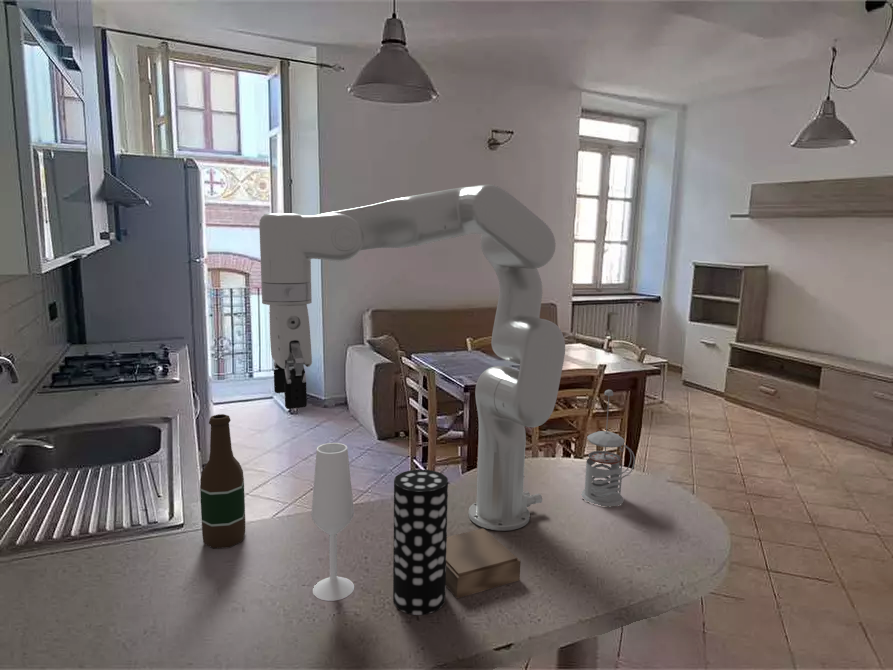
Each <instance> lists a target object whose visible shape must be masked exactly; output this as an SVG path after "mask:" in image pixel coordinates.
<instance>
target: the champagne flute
mask: <svg viewBox="0 0 893 670" xmlns="http://www.w3.org/2000/svg"><path fill="white" fill-rule="evenodd" d="M311 501H312V503H311V514H310V515H311V520H312V521H313V523H314V524H315V525H316V527H317V528H318V529H320V530H321V531H322V532H324V533H325V534H327V535H329V537H328V538H329V539H328V540H329V541H328V543H329V544H328V546H329V550H328V551H329V576H328V577H326V578H323V579H321V580H319V581H318V582H316V583H317V584H316V583H315V584H316V585H315V584H314V586H313V587H314V588H313V587H312V594H313V596H315V597H316V598H317V599H319V600H322V601H326V602H327V601H329V602H333V601H340V600H343V599H345V598H347V597H349V596H350V595H352V593H353V592H354V590H355V585H354V583H353V582H352V580H351V579H349V578H346V577H343V576H338V541H337V540H338V537H337V536H338V535H337V534H339V533H341V532H342V531H343V530H344V529H345V528H346V527H348V525H349V524H350V523H351V521H352V519H353V517H354V515H355V509H354V508H355V507H354V499H353V489H352V479H351V470H350V459H349V449H348V445H347V444H344V443H341V442H328V443H323V444H321V445H318V446H317V447H316V454H315V466H314V477H313V490H312V500H311Z"/></svg>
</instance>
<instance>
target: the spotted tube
mask: <svg viewBox="0 0 893 670" xmlns="http://www.w3.org/2000/svg"><path fill="white" fill-rule="evenodd" d="M448 493H449V479H448V477H447V475H445V474H443V473H441V472H439V471H436V470H432V469H431V470H430V469H409V470H406V471H403V472H401V473H399V474H397V475H395V477H394V480H393V556H392V557H393V565H392V566H393V569H392V570H393V571H392V572H393V573H392V575H393V576H392V577H393V580H392V581H393V582H392V583H393V585H392V586H393V587H392V600H393V604H394V606H395V607H396V609H398V610H399V611H401V612H403V613H406V614H409V615H415V616H424V615H428V614H432V613H436V612H437V611H439V610H440V609H441V608H442V607H443V606H444V604H445V603H446V587H447V586H446V547H447V537H448V500H449V498H448V495H449V494H448Z"/></svg>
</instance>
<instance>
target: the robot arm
mask: <svg viewBox="0 0 893 670" xmlns="http://www.w3.org/2000/svg"><path fill="white" fill-rule="evenodd" d="M258 225H259V227H258V229H259V230H258V231H259V249H260V250H259V252H260V253H259V254H260V256H259V257H260V281H261V285H260V287H261V304H263V305H268V306H269V312H268V314H269V340H270V341H269V342H270V352H271V358H272V360H273V361H274V362H273V366H274V369H273V388H274V389H273V390H274V394H284V406H285V408H286V409H287V410H292V409H299V408H306V407H307V405H308V403H307V402H308V401H307V399H308V398H307V395H308V393H307V377H306V371H305V370H306V369H305V367H307V368H310V367H311V366H312V364H313V359H312V358H313V357H312V344H311V343H312V342H311V341H312V340H311V326H310V316H309V309H308V305H309V304H312V265H311V264H312V262H311V261H312V259H315V260H324V261H328V262H339V263H340V262H345V261H348V260H351V259H353V258H354V257H356V256H357V255H358V254H359V253H360V252H361V251H366V250H373V249H384V248H385V249H400V248H401V249H403V248H413V247H419V246H422V245H427V244H432V243H435V242H436V243H437V242H440V241H444V240H448V239H454V238H459V237H464V236H470V235H481V236H480V249H481V252H482V254H483V256H484V258H485V259H486V260H487V262H488V263H489V264H490V265H491V267H492V268H493V270H494V272H495V273H496V276H497V280H498V288H499V292H498V299H497V306H496V311H495V316H494V323H493V327H492V334H491V343H490V344H491V349H492V351H493V353H494V354H495V355H496V356H497V357H498V358H501V359H503V360H506V361H507V362H510V363H514V364H517V365H519V370H518V369H515V368H512V367H508V366H503V365H495V366H491V367H488V368H487V369H485V370H484V371H483V372H482V373H481V374H480V375H479V377H478V378H477V381H476V384H475V393H474V394H475V404H476V409H477V410H476V411H477V417H478V445H477V447H478V449H477V473H476V475H477V476H476V477H477V480H476V501H475V502H473V503H472V504H471V505H470V506H469V508H468V518H469V520H471V522H473V523H474V524H475V525H476V526H479V527H481V528H482V529H483V528H484V529H485V530H486V529H487V530H492V531H498V532H499V531H502V532H504V531H515V530H518V529H521V528H522V527H524V526H526V525H527V524H528V523H529V522H530V518H531V515H530V514H531V513H530V511H529V509H528V508H530V506H531V505H536V504H537V505H538V504H540V503H542V502H543V496H542V495H541V494H542V493H541V494H540V493H535V494H531V493H530V491H524V487H525V486H524V484H525V483H524V482H525V481H524V480H525V479H524V478H525V464H526V463H525V462H526V461H525V459H526V443H527V442H526V441H527V435H526V428H525V427H527V428H537V427H539V426H542V425H543V424H545V423H546V422H547V421H548V420H549V419H550V418H551V415H552V414H553V412H554V409H555V406H556V403H557V397H558V394H559V388H560V382H561V378H562V372H563V368H564V367H563V366H564V361H565V355H566V342H565V336H564V334H563V331H562V330H561V328H560V327H559V326H558V325H557V324H556V323H555V322H553V321H550V320H548V319H545V318H540V316H541V309H542V299H543V283H542V279H541V274H540V272H539V270H538V269H539V268H542V267H544V266H546V265H548V264H549V262H551V260H552V259H553V257H554V254H555V252H556V239H555V236H554V233H553V231H552V230H551V228H550V227H549V225H548V224H547V223H546V222H545V221H544V220H542V219H541V218H540V217H539V216H538V215H536V214H535V213H534V212H533V211H532V210H531V209H530V208H528V207H527V206H526V205H525V204H524V203H522V202H521V201H520V199H519V200H518V198H516V197H515V196H514V195H512V194H511V193H510V192H509V191H507V190H505V189H504V188H502V187H500V186H498V185H495V184H490V183H489V184H479V185H472V186H471V185H470V186H462V187H456V188H450V189H444V190H439V191H438V190H437V191H433V192H426V193H422V194H421V193H420V194H416V195H415V194H414V195H410V196H409V195H408V196H405V197H399V198H394V199H389V200H386V201H383V202H378V203H374V204H369V205H364V206H360V207H359V206H358V207H354V208H348V209H341V210H336V211H330V212H324V213H319V214H313V215H304V214H300V213H290V212H289V213H286V212H285V213H283V212H282V213H281V212H277V213H276V212H274V213H273V212H272V213H266V214H264V215H262V216H261V218H260V220H259V224H258Z"/></svg>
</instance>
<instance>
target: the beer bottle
mask: <svg viewBox="0 0 893 670" xmlns="http://www.w3.org/2000/svg"><path fill="white" fill-rule="evenodd" d="M208 420H209V421H208V424H209V425H210V435H209V437H210V439H209V440H210V441H209V447H210V448H209V459H208V461H207V462H206V463H205V466H204V468H203V469H202V473H201V475H200V480H199V482H200V483H199V493H200V496H199V497H200V513H201V517H200V518H201V531H202V532H201V533H202V542H203V544H204V545H205V546H207V547H210V548H211V549H215V550H216V549H226V548H231V547H233V546H235V545H238V544H239V543H242V542H243V540H244V537H245V533H246V505H245V504H246V501H245V500H246V499H245V478H244V470H243V468H242V466H241V464H240V462H239V461H238V460H237V459H236V456H235V457H234V452H233V450H232V449H233V447H232V439H231V431H230V430H231V429H230V422H231V420H232V419H231V417H230V415H227V414H224V413H219V414H214V415H211V416H210V418H209V419H208Z"/></svg>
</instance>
